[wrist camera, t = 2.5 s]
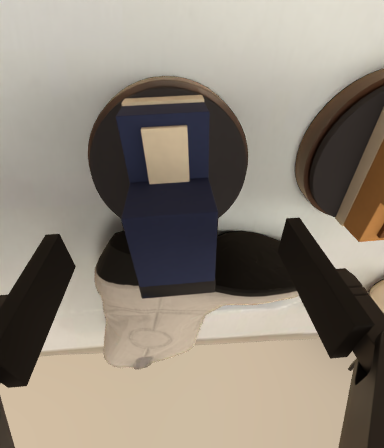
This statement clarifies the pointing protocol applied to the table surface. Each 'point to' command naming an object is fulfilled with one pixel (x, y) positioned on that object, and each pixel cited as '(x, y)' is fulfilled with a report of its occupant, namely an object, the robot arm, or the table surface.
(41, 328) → the robot arm
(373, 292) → the trinket box
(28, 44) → the table surface
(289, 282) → the cowboy boot
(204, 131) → the navy and black piece
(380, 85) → the turntable base
